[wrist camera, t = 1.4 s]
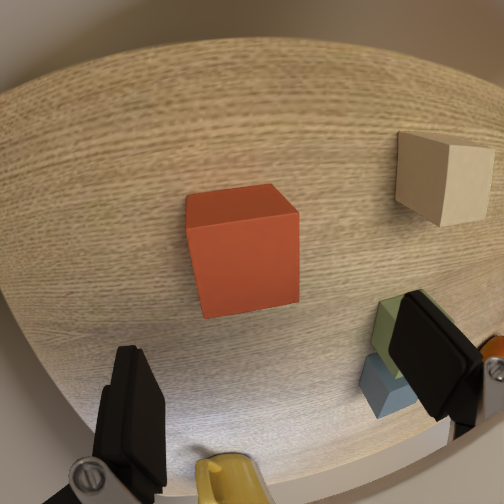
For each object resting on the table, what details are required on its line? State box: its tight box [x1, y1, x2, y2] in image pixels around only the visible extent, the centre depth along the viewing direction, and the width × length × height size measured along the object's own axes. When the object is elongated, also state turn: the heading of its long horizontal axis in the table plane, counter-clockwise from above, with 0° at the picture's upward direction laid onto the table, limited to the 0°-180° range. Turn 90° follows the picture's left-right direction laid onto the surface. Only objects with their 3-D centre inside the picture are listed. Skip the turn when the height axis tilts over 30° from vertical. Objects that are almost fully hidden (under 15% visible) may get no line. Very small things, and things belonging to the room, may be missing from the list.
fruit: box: [479, 336, 504, 363], centre depth 33 cm, size 8×8×8 cm
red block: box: [185, 184, 299, 319], centre depth 16 cm, size 5×5×5 cm
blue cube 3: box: [359, 353, 418, 419], centre depth 27 cm, size 5×5×5 cm
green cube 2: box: [371, 289, 454, 379], centre depth 23 cm, size 5×5×5 cm
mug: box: [195, 453, 275, 504], centre depth 28 cm, size 14×10×10 cm
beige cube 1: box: [395, 131, 495, 227], centre depth 17 cm, size 5×5×5 cm
